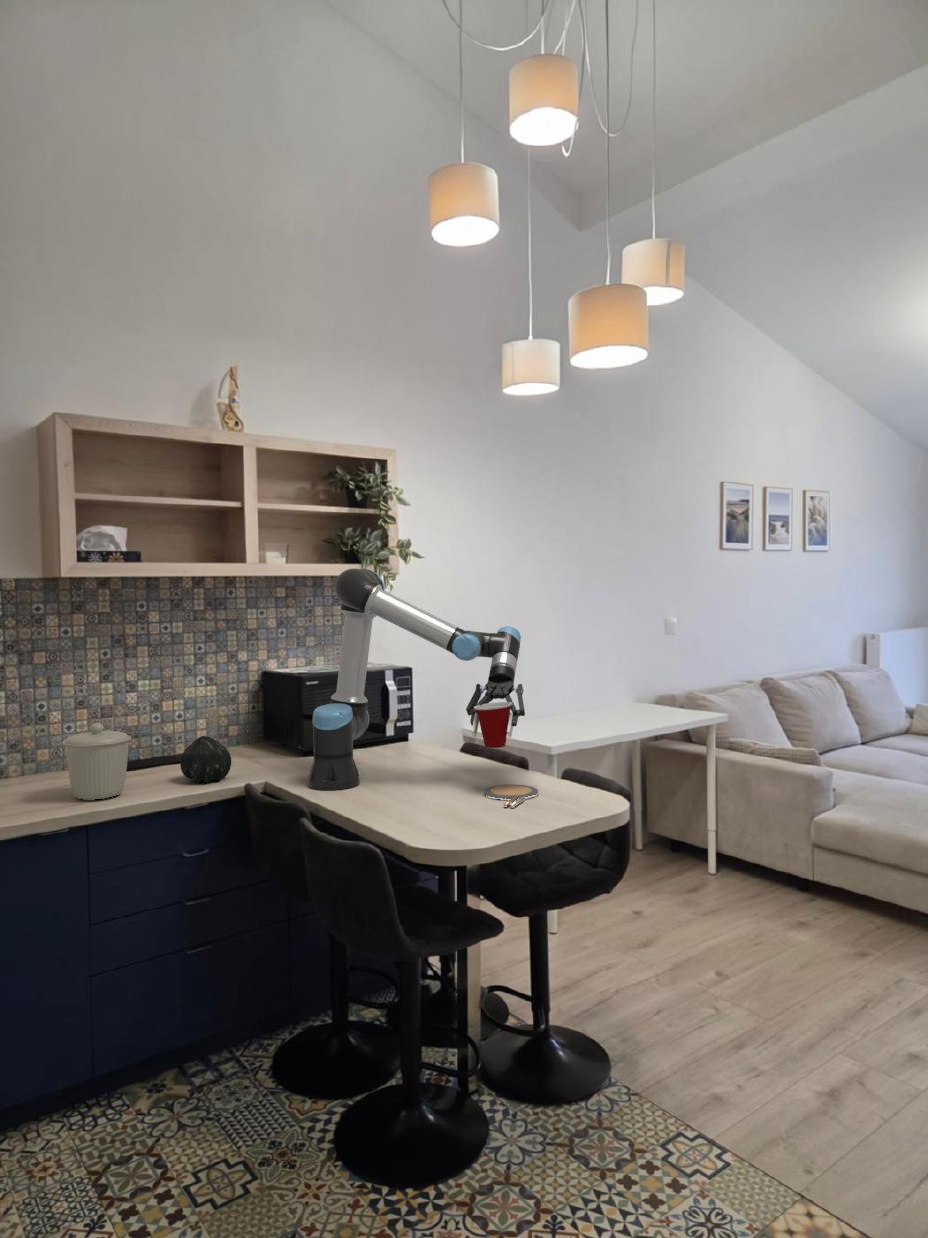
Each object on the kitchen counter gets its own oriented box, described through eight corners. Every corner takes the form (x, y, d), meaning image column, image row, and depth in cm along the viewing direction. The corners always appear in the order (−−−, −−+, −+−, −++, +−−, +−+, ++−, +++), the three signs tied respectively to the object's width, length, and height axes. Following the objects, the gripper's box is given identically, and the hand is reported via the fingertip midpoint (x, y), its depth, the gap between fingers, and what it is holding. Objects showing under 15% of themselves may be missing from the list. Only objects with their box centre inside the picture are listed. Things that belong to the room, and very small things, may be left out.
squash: (219, 755, 273) (192, 724, 265) (247, 762, 264) (220, 731, 255) (190, 790, 266) (161, 760, 257) (218, 799, 256) (188, 768, 248)
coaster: (514, 803, 227) (514, 799, 227) (473, 795, 237) (473, 791, 237) (548, 793, 238) (548, 789, 238) (508, 785, 248) (508, 781, 248)
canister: (143, 796, 242) (141, 722, 242) (78, 808, 229) (76, 730, 229) (117, 786, 255) (114, 716, 254) (54, 797, 242) (51, 724, 241)
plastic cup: (475, 743, 244) (473, 701, 243) (512, 742, 244) (511, 700, 243) (474, 750, 233) (473, 707, 233) (514, 749, 233) (512, 705, 232)
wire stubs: (513, 809, 221) (513, 804, 221) (502, 808, 222) (502, 803, 222) (525, 801, 230) (525, 796, 230) (515, 800, 231) (515, 795, 231)
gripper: (541, 679, 250) (532, 743, 235) (469, 679, 256) (456, 741, 241) (537, 663, 244) (528, 727, 230) (463, 663, 250) (450, 725, 236)
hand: (491, 734), depth 235 cm, fingers closed on plastic cup, 9 cm apart
